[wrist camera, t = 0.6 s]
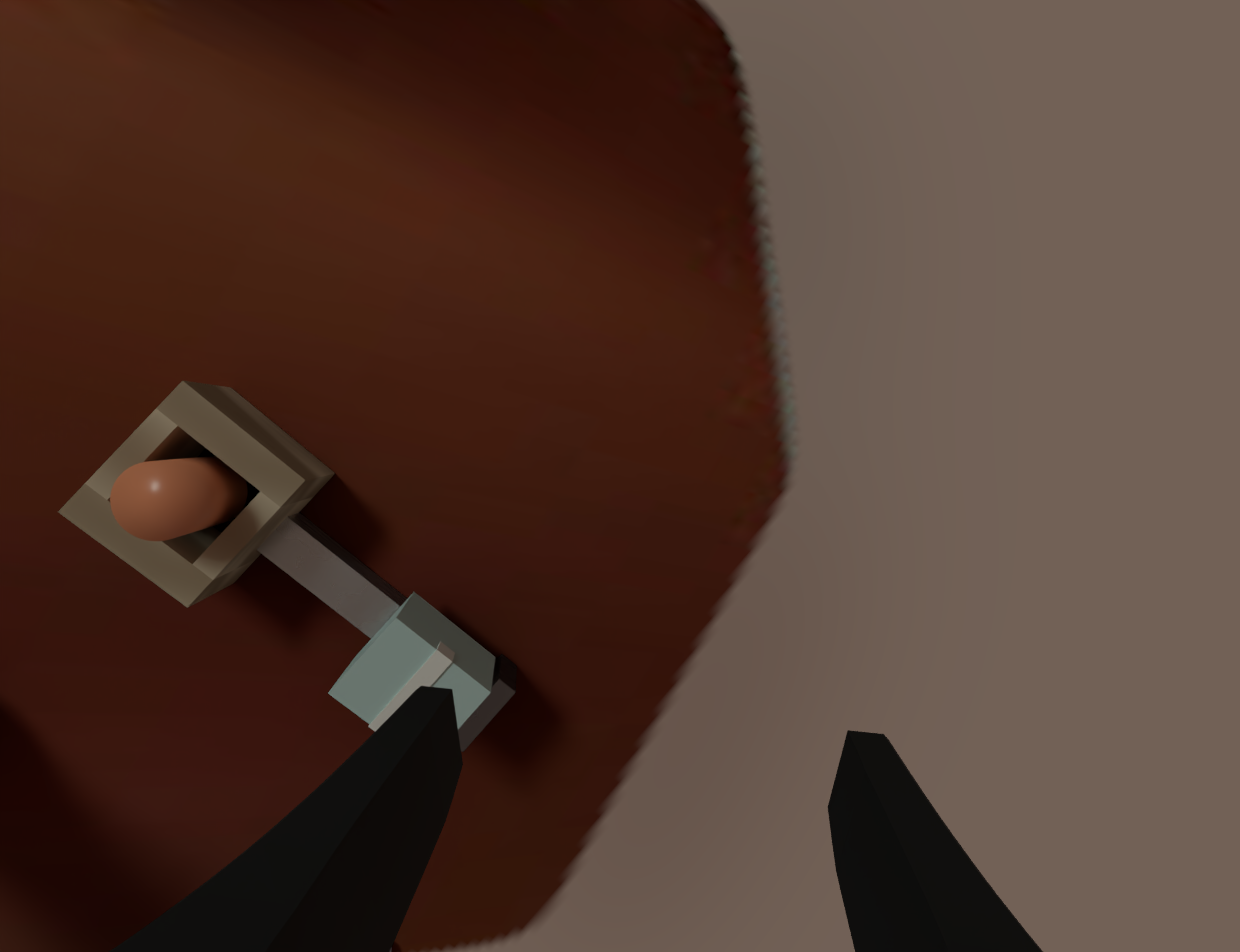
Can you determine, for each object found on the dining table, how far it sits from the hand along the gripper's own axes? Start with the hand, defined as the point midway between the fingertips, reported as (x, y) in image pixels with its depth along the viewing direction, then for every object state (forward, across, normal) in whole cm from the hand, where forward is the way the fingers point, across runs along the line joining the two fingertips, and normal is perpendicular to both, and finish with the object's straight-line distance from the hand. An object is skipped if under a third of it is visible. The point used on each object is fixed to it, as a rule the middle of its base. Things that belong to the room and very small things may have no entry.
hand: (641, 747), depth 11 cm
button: (+13, +20, +3) cm, 24 cm away
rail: (+15, +13, +10) cm, 22 cm away
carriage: (+13, +11, +11) cm, 20 cm away
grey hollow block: (+15, +20, +4) cm, 26 cm away
